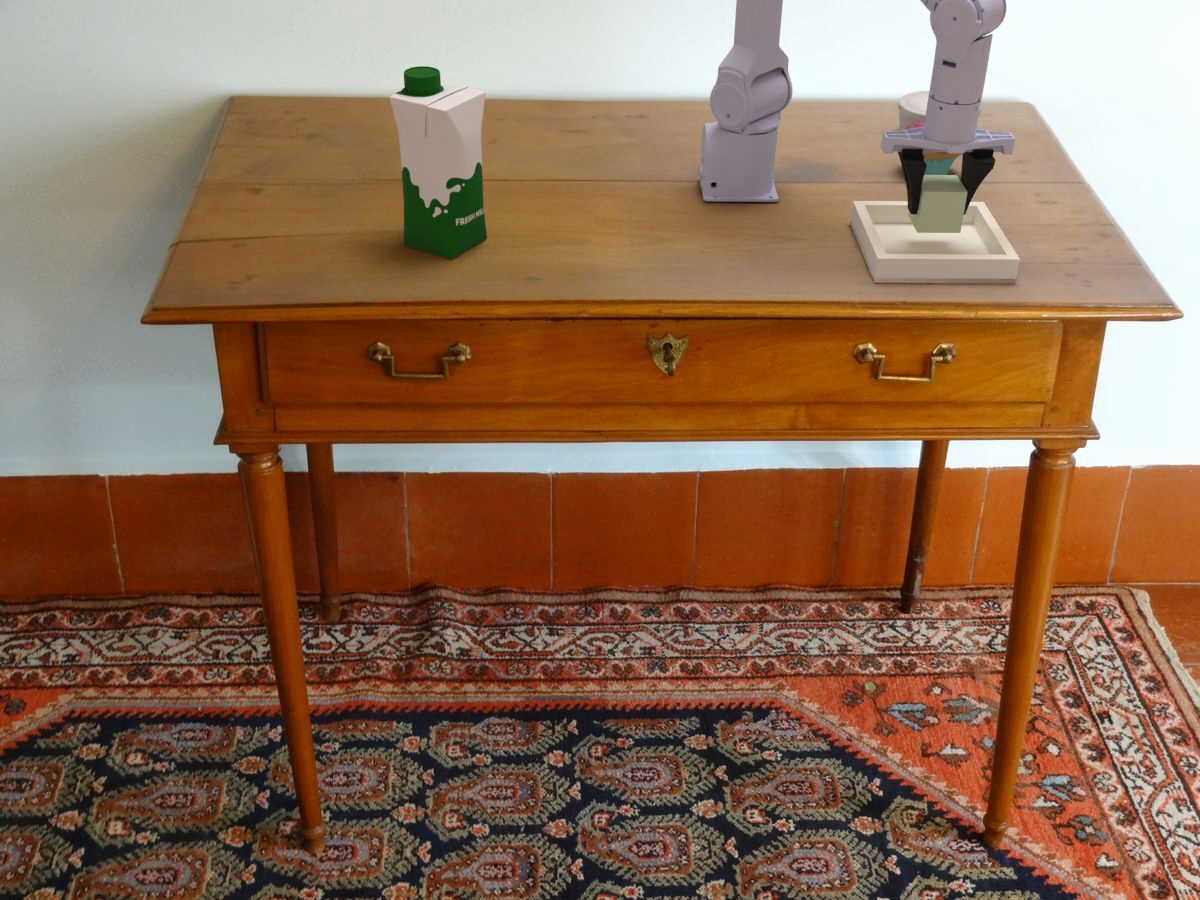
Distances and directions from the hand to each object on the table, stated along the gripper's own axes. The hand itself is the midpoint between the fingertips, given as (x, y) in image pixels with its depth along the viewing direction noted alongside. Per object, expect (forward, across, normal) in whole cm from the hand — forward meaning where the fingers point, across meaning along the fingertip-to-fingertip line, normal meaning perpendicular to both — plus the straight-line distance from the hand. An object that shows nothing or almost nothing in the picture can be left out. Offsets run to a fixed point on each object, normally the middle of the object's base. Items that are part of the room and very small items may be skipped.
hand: (936, 211), depth 156 cm
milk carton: (+5, -57, +2) cm, 57 cm away
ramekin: (+6, +9, +37) cm, 38 cm away
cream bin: (+5, 0, 0) cm, 5 cm away
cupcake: (+5, +5, +24) cm, 25 cm away
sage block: (+2, 0, 0) cm, 2 cm away
